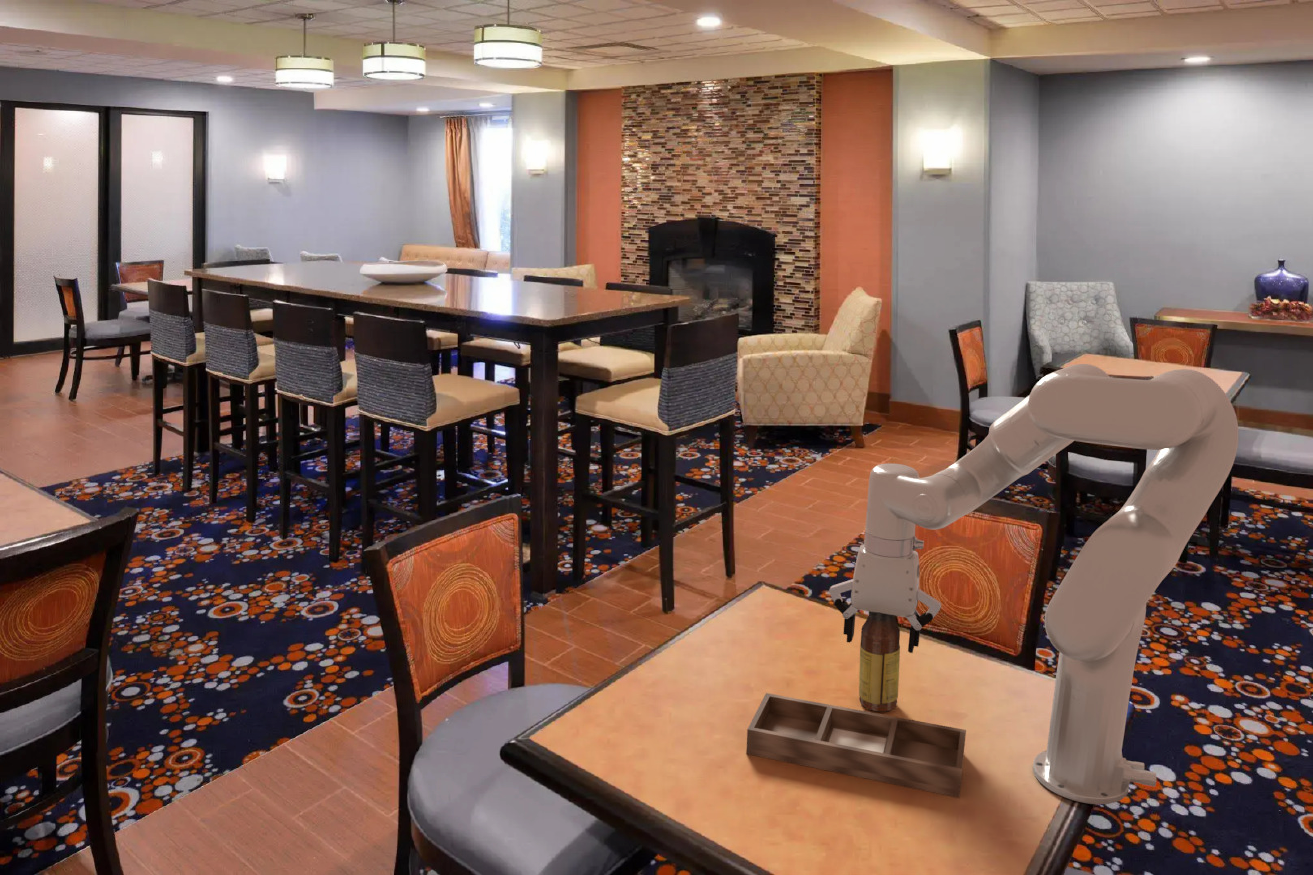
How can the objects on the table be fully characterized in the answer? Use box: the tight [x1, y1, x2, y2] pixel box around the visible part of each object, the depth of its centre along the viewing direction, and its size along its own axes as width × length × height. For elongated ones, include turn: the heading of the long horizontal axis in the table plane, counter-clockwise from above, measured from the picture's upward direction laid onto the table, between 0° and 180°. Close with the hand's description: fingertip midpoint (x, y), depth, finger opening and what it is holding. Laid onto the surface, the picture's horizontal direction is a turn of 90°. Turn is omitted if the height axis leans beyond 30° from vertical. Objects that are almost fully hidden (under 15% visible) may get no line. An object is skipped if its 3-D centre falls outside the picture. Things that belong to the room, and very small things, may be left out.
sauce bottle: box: [858, 612, 901, 713], centre depth 158 cm, size 7×6×20 cm
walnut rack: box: [746, 692, 967, 798], centre depth 146 cm, size 30×12×4 cm, turn 71°
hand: (880, 644), depth 158 cm, fingers open, 9 cm apart
